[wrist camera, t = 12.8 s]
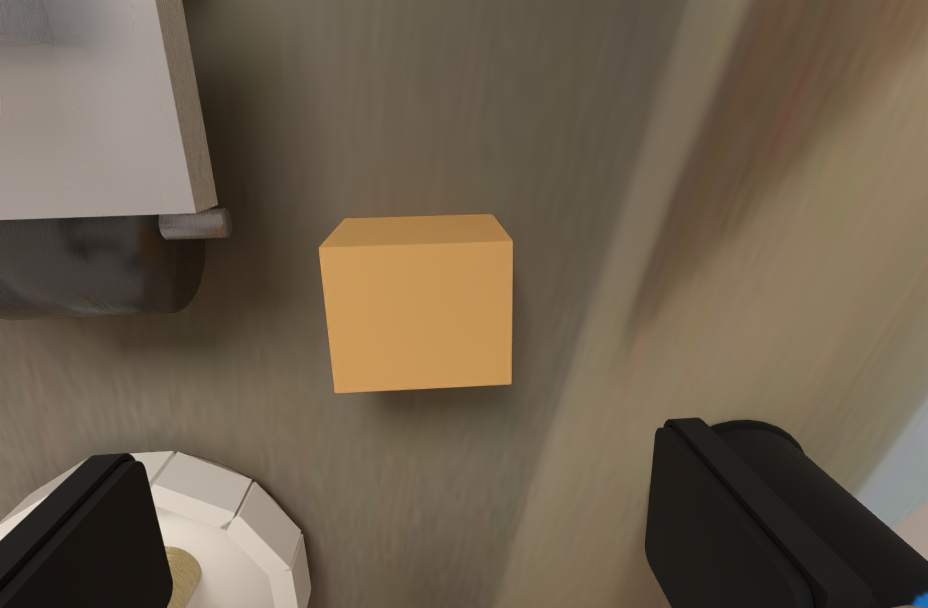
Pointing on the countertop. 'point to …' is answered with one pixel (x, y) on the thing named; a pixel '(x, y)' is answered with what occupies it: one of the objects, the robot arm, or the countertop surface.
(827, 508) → the aerosol can
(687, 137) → the countertop surface
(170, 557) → the pin
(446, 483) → the countertop surface
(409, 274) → the orange cube
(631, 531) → the countertop surface
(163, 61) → the white stand
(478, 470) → the countertop surface
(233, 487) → the dish
